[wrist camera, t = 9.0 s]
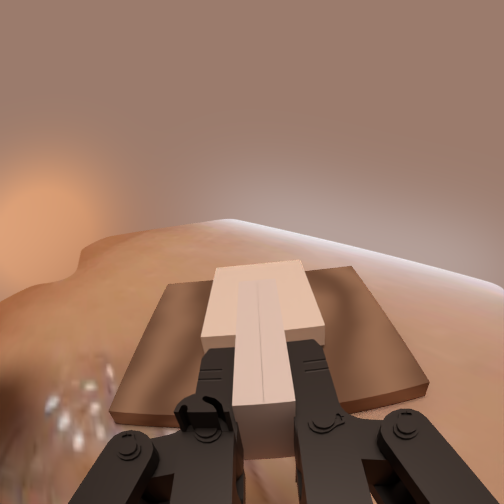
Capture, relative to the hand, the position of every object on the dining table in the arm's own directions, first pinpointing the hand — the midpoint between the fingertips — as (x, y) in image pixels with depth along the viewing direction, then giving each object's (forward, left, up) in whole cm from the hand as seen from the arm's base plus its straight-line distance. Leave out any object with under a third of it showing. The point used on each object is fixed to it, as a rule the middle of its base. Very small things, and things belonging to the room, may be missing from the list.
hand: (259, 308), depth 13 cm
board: (0, +14, -11) cm, 18 cm away
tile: (0, +9, -9) cm, 13 cm away
